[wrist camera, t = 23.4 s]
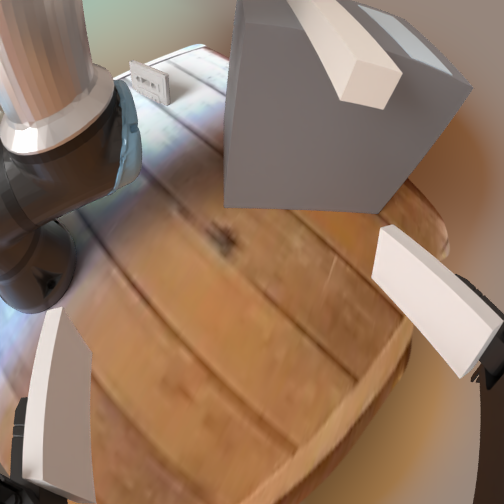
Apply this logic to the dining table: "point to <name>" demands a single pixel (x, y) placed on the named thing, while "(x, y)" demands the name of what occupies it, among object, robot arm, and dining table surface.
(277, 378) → the dining table surface
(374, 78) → the bar
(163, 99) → the cassette
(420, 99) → the grey box
